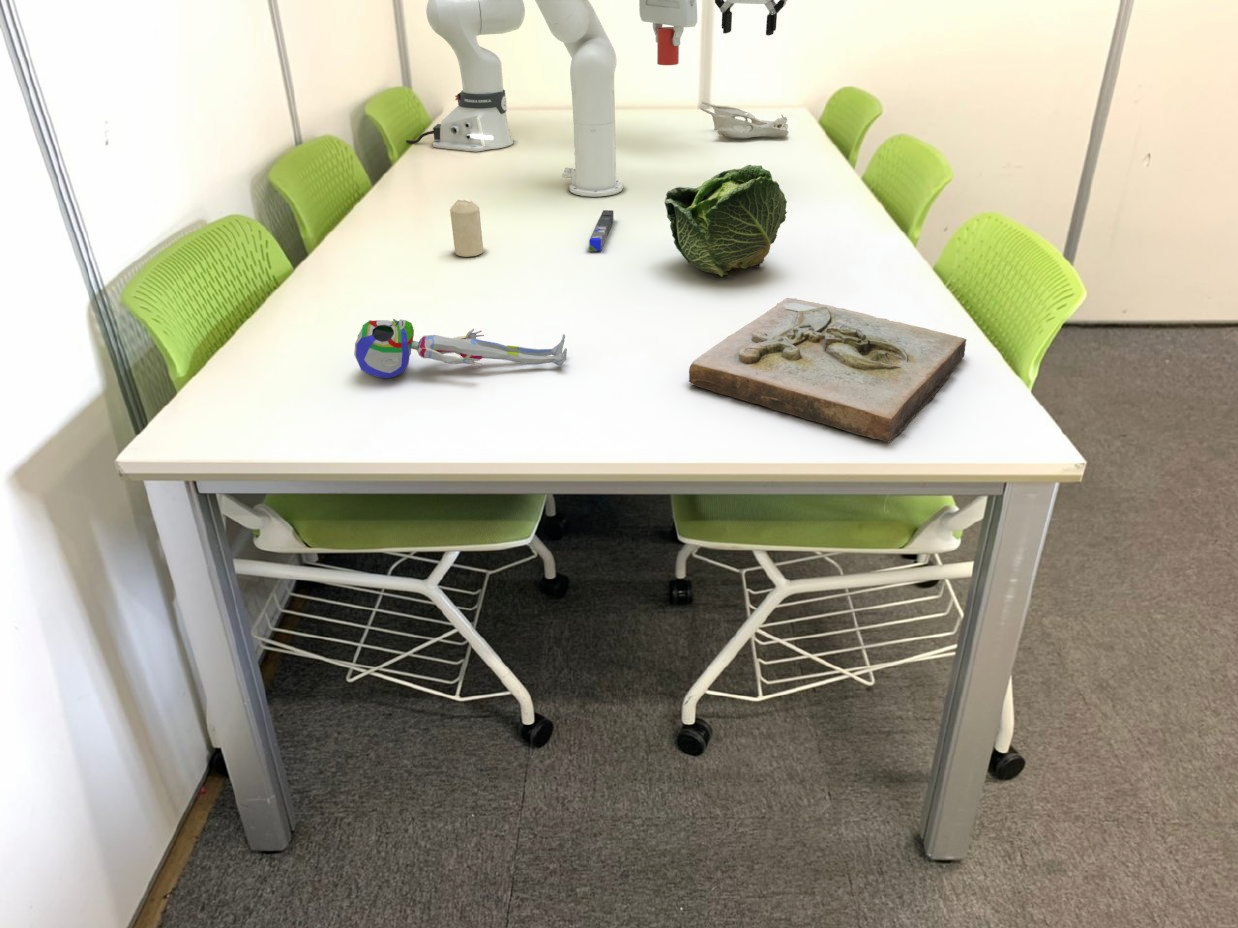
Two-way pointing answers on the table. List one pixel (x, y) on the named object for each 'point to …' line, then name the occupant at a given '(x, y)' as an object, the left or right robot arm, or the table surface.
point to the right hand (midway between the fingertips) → (748, 33)
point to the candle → (466, 228)
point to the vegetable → (727, 219)
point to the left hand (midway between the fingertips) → (667, 44)
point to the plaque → (832, 366)
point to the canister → (666, 47)
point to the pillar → (601, 230)
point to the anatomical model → (744, 123)
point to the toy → (435, 349)
